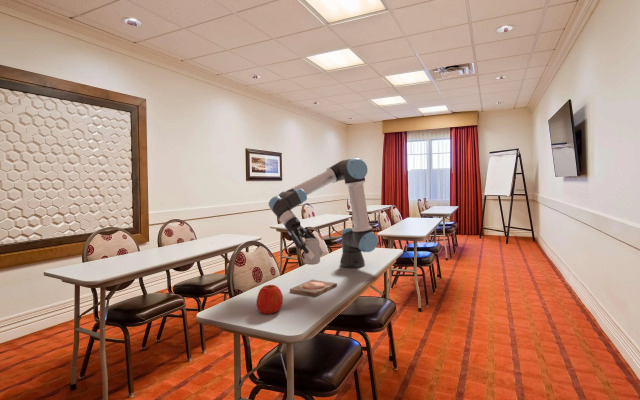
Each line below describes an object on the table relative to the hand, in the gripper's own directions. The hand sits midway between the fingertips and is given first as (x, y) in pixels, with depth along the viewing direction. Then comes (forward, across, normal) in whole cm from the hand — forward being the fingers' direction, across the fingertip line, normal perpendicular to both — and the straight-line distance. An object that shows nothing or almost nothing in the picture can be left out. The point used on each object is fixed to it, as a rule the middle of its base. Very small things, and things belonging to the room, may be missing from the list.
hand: (318, 256), depth 163 cm
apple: (+10, +32, -13) cm, 36 cm away
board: (+9, 0, -14) cm, 17 cm away
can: (0, 0, -5) cm, 5 cm away
